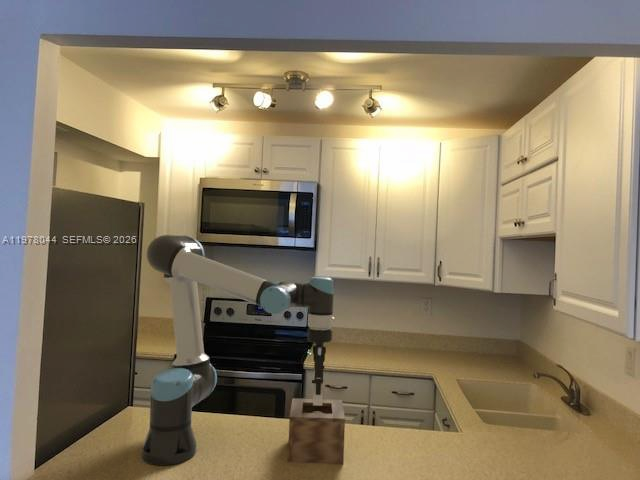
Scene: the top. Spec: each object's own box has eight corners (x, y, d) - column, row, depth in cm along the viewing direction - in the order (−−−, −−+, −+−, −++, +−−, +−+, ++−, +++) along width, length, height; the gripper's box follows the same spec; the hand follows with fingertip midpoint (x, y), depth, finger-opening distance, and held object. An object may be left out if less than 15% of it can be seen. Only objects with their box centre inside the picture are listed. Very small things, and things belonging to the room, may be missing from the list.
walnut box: (287, 462, 130) (289, 416, 131) (291, 438, 146) (292, 398, 147) (343, 464, 131) (344, 418, 131) (340, 440, 147) (341, 399, 147)
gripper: (333, 336, 127) (331, 412, 126) (331, 321, 151) (328, 385, 151) (306, 335, 126) (304, 411, 126) (308, 320, 151) (306, 384, 151)
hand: (317, 397), depth 139 cm, fingers open, 13 cm apart
